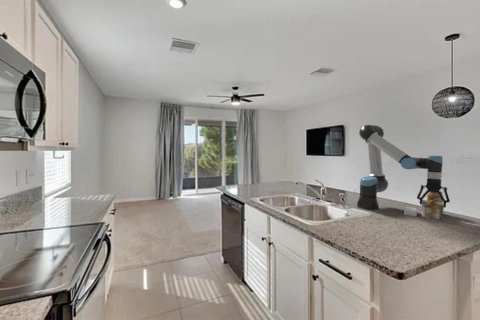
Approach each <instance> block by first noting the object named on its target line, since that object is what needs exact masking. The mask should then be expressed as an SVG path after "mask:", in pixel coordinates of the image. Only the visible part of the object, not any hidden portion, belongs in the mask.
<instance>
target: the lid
mask: <svg viewBox="0 0 480 320" xmlns="http://www.w3.org/2000/svg"><path fill="white" fill-rule="evenodd" d="M422 200H423V208H424V207H426V208H434V209H442V210H443V211H444V209H443V205H442V203H441V202H435V201H434V200H430V201H427V199H426V200H424V199H422Z"/></svg>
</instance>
